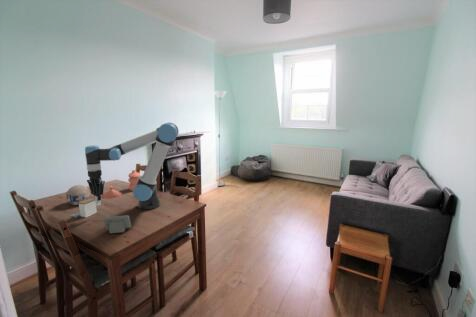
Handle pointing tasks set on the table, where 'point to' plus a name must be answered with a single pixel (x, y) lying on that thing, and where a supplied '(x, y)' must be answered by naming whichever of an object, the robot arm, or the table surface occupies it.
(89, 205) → the cream block
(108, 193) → the ceramic vessels
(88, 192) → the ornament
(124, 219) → the digital clock
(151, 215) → the table surface
